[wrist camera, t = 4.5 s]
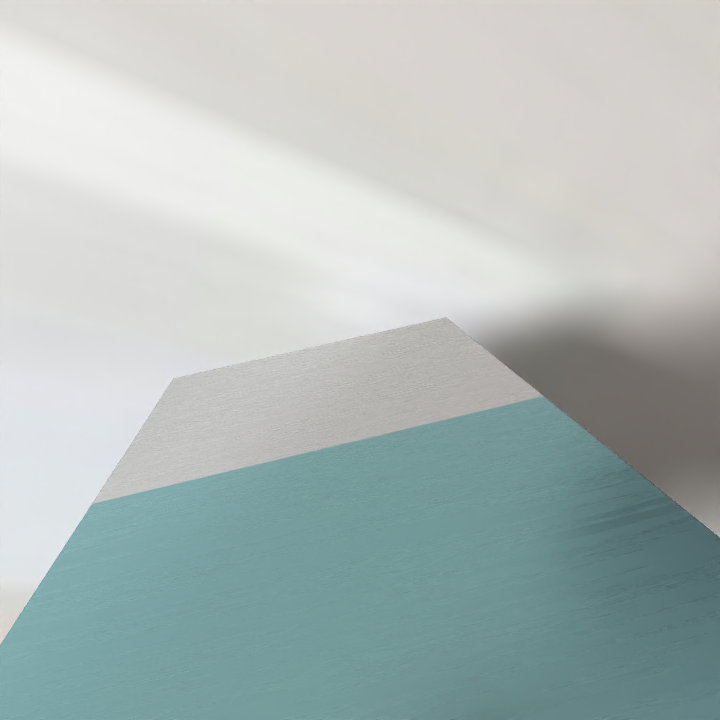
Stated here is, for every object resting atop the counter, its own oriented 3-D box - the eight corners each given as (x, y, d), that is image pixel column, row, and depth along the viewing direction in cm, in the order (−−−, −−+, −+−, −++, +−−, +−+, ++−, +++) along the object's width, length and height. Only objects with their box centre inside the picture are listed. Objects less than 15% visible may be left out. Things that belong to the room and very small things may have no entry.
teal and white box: (173, 378, 8) (-335, 1161, 2) (445, 317, 8) (985, 752, 2) (273, 651, 11) (242, 1385, 4) (480, 596, 11) (761, 1197, 4)
